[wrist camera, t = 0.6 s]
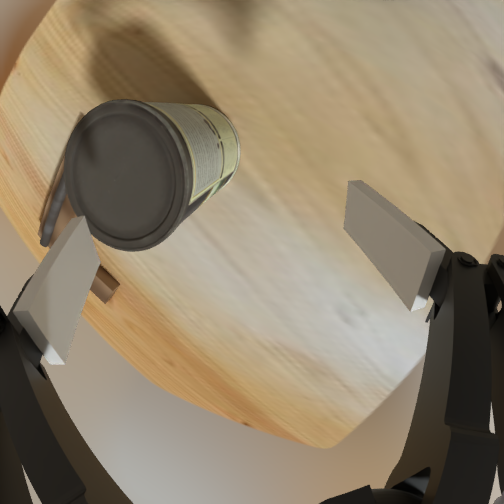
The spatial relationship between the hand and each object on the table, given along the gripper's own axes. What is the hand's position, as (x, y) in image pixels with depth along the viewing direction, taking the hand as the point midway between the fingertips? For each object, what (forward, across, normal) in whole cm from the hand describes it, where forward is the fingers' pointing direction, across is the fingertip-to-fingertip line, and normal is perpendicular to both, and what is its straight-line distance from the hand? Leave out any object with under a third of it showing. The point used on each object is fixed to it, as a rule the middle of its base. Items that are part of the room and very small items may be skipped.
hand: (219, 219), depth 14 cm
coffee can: (+19, -1, -1) cm, 19 cm away
